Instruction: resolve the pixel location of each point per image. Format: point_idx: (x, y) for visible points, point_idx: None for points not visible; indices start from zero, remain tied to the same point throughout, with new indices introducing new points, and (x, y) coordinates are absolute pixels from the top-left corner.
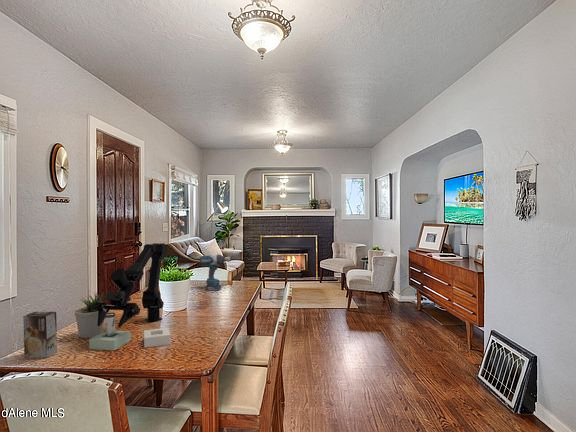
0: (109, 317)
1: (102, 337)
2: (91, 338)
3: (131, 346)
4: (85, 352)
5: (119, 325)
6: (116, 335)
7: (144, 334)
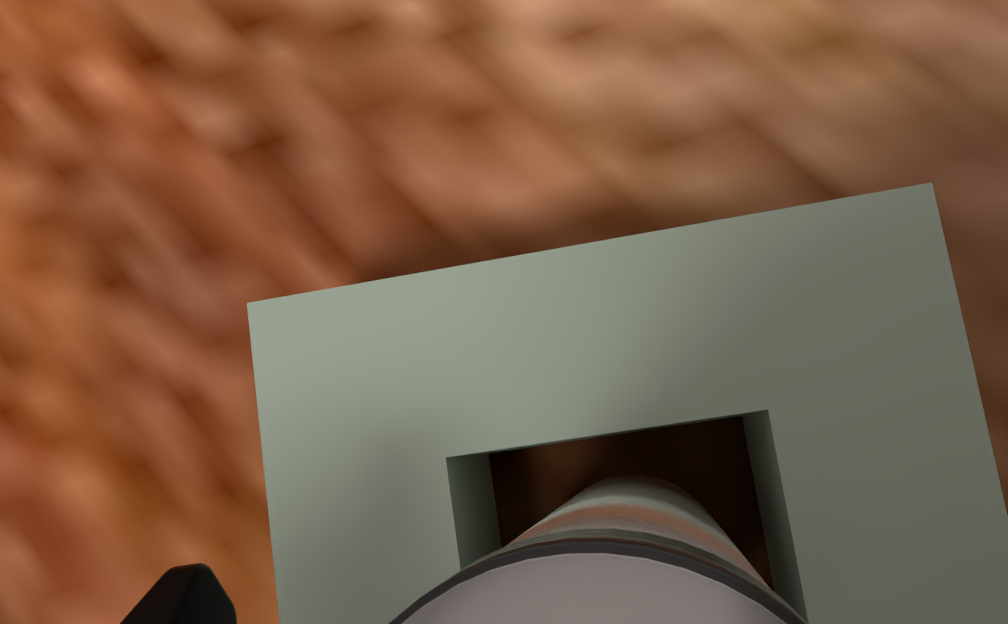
0: (465, 567)
1: (691, 383)
2: (918, 236)
3: None
4: (793, 88)
5: (154, 611)
6: None
7: None
